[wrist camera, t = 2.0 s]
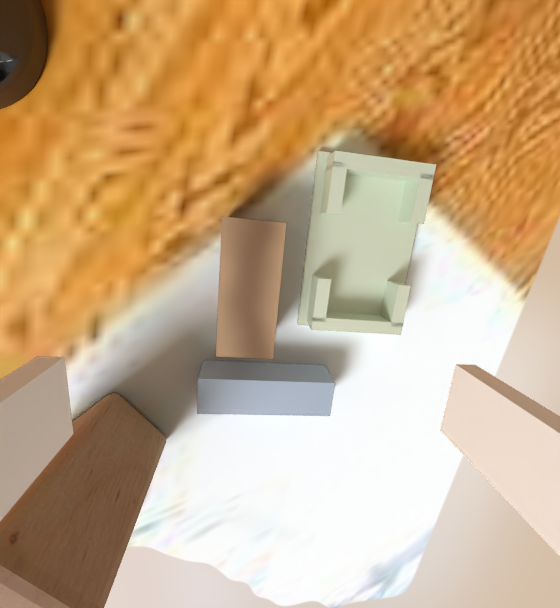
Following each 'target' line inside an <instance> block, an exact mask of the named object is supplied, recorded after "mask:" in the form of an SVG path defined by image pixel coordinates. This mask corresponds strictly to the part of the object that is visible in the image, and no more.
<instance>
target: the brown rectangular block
mask: <svg viewBox="0 0 560 608" xmlns="http://www.w3.org/2000/svg"><path fill="white" fill-rule="evenodd" d="M286 224H287V223H282V222H272V221H263V220H253V219H243V218H233V217H223V216H222V233H221V254H220V275H219V297H218V318H217V339H216V357H239V358H262V359H273V356H274V346H275V335H276V325H277V315H278V305H279V295H280V285H281V274H282V264H283V254H284V244H285V234H286Z"/></svg>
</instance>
